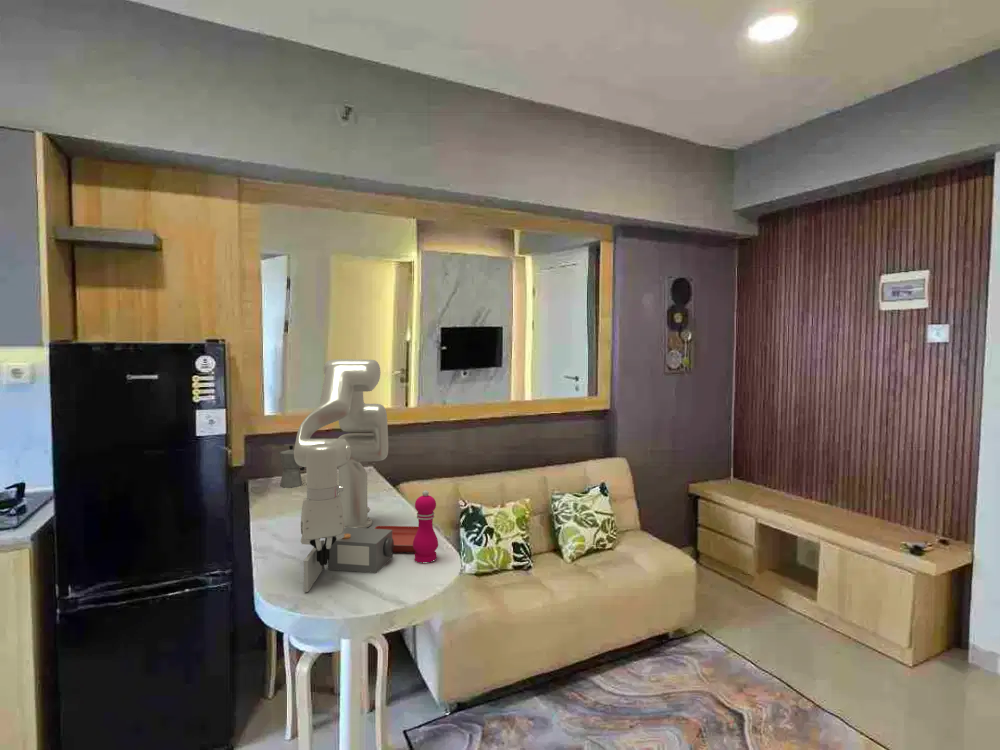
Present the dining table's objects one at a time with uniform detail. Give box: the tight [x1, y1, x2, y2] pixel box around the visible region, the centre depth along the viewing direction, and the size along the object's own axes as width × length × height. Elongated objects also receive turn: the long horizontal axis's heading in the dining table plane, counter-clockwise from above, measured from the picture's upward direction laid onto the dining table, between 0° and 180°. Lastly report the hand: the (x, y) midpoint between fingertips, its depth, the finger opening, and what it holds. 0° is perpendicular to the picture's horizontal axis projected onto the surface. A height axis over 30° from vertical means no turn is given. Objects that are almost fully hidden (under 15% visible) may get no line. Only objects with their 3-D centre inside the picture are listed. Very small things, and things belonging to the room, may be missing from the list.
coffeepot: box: [278, 445, 306, 489], centre depth 247 cm, size 15×9×18 cm, turn 70°
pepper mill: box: [413, 490, 439, 564], centre depth 158 cm, size 7×7×20 cm
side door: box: [303, 539, 326, 593], centre depth 143 cm, size 2×15×8 cm, turn 4°
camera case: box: [327, 527, 394, 574], centre depth 155 cm, size 12×15×9 cm
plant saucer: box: [374, 525, 418, 553], centre depth 171 cm, size 18×18×3 cm
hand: (323, 563), depth 142 cm, fingers closed
